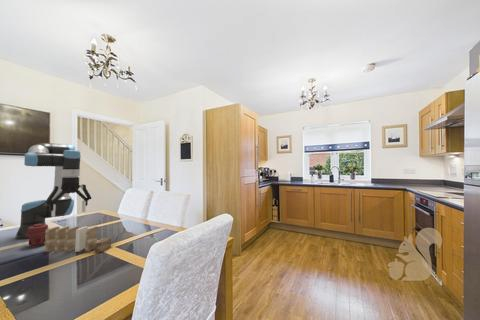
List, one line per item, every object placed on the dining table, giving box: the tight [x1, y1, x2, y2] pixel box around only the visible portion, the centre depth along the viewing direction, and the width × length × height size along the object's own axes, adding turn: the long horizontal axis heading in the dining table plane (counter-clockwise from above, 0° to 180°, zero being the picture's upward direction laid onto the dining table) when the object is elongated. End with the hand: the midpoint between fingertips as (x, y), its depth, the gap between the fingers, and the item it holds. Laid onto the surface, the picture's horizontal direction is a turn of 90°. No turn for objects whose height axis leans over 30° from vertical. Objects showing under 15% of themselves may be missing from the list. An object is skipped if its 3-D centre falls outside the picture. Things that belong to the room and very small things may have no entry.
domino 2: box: [54, 226, 70, 253], centre depth 108 cm, size 2×6×12 cm, turn 1°
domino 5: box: [84, 225, 99, 252], centre depth 108 cm, size 2×6×12 cm, turn 1°
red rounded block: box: [25, 223, 49, 249], centre depth 114 cm, size 12×10×10 cm
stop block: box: [93, 237, 112, 253], centre depth 108 cm, size 4×8×5 cm, turn 1°
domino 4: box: [74, 225, 89, 253], centre depth 108 cm, size 2×6×12 cm, turn 1°
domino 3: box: [64, 226, 80, 253], centre depth 108 cm, size 2×6×12 cm, turn 1°
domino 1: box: [44, 226, 61, 253], centre depth 108 cm, size 2×6×12 cm, turn 1°
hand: (69, 214), depth 109 cm, fingers open, 13 cm apart
